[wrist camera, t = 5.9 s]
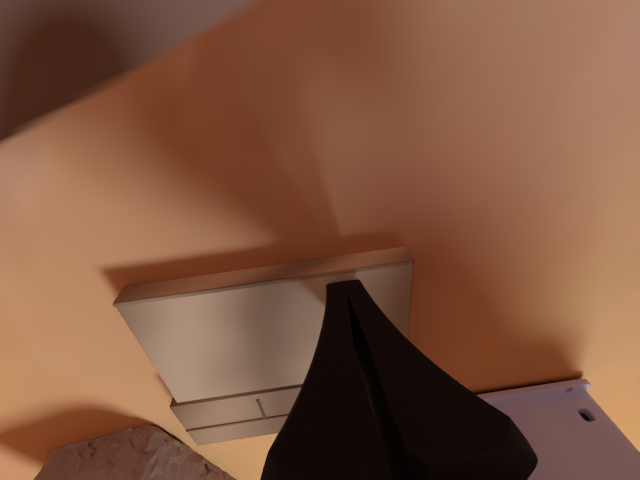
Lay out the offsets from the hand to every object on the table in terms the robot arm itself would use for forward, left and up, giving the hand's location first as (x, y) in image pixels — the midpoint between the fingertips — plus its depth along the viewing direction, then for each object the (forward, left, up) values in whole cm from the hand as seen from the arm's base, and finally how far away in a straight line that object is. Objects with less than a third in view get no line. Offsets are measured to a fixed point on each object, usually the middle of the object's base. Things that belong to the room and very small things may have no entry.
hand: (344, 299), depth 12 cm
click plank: (+3, +2, -1) cm, 4 cm away
